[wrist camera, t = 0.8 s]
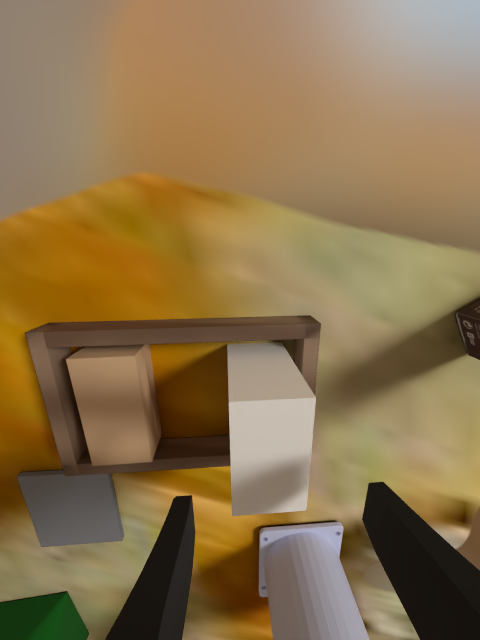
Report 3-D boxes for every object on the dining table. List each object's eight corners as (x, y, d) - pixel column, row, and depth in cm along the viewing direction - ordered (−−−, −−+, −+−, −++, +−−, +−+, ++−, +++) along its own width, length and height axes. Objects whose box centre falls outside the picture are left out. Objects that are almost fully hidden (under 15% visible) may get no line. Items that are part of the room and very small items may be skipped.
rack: (301, 441, 20) (309, 461, 18) (81, 453, 19) (65, 476, 17) (309, 315, 17) (320, 323, 15) (48, 322, 16) (25, 332, 14)
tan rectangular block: (162, 430, 19) (151, 461, 16) (112, 434, 19) (92, 466, 16) (149, 338, 17) (134, 355, 14) (93, 341, 17) (66, 359, 14)
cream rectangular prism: (278, 421, 20) (306, 510, 13) (229, 424, 19) (232, 516, 13) (281, 342, 18) (316, 397, 11) (227, 343, 17) (228, 402, 11)
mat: (124, 535, 22) (122, 540, 21) (44, 541, 21) (41, 547, 21) (109, 467, 20) (107, 471, 19) (20, 472, 19) (16, 476, 19)
